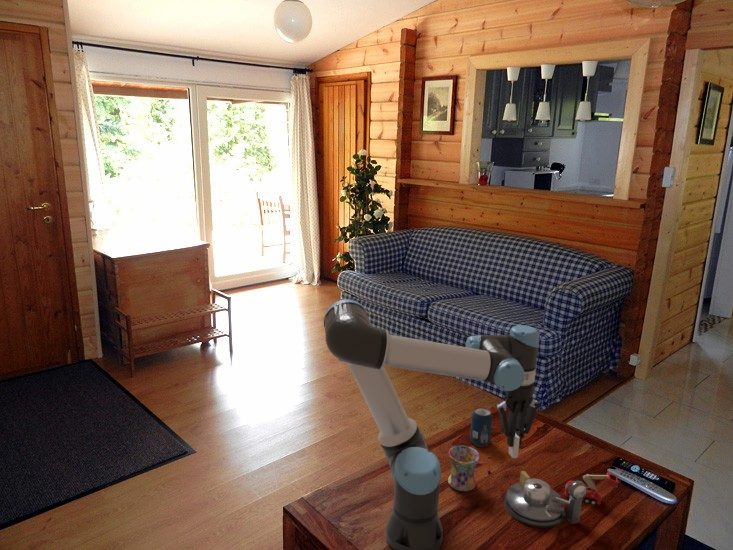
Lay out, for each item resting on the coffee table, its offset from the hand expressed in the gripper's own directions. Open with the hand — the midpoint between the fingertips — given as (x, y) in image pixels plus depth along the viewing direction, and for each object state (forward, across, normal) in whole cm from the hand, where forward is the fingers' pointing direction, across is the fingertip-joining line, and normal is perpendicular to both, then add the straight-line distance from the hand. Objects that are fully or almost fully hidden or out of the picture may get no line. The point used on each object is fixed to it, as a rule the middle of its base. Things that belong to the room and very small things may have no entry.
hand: (513, 455), depth 160 cm
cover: (+12, +5, -6) cm, 14 cm away
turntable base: (+15, +5, -5) cm, 16 cm away
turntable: (+13, +5, -5) cm, 15 cm away
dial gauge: (+15, +12, -11) cm, 22 cm away
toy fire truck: (+15, +23, -6) cm, 28 cm away
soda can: (+15, +5, +30) cm, 34 cm away
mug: (+15, -11, +10) cm, 21 cm away
